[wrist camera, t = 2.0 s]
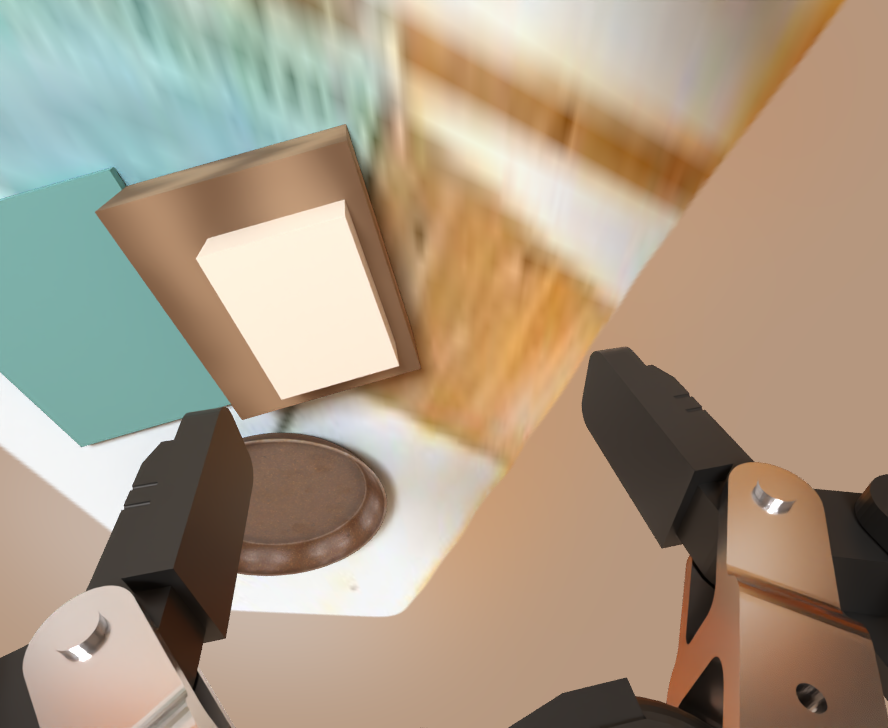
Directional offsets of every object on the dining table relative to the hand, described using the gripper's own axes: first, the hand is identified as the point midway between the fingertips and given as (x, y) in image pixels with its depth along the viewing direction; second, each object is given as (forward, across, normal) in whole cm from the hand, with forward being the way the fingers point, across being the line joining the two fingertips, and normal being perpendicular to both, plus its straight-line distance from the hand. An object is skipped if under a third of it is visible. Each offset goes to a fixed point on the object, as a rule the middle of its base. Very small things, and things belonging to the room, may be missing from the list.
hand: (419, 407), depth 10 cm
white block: (+16, +4, +5) cm, 17 cm away
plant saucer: (+21, +11, +26) cm, 35 cm away
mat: (+20, +18, +7) cm, 28 cm away
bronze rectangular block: (+20, +6, +5) cm, 21 cm away
